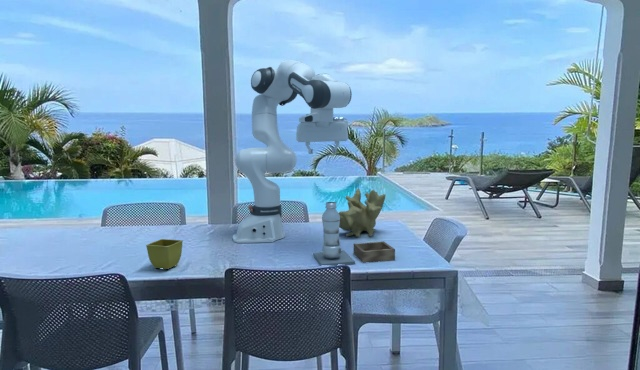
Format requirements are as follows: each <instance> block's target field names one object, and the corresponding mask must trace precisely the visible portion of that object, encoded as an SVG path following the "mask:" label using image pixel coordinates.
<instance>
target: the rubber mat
mask: <svg viewBox="0 0 640 370" xmlns="http://www.w3.org/2000/svg"><path fill="white" fill-rule="evenodd" d="M312 257H314V259H315V260H316V261H317V263H318V265H319V266H320V265H338V264H345V265H344V266H348V265H356V260H354V258H352V257H351V256H350V255H349V253H347V252H346V251H345V250H341V255H340V256H339V257H338V258H333V259H330V258H325V257H324V255H323V252H322V251H318V252H313V253H312Z"/></svg>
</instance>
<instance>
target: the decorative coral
mask: <svg viewBox="0 0 640 370" xmlns="http://www.w3.org/2000/svg"><path fill="white" fill-rule="evenodd" d="M364 196H365V198H366V200H365V201H364V203H363V202H361V199H362V193H361V190H360V188H357V189H356V190H355V193H354V195H353V196H352V197H351V196H349V195H346V196H345V200H346V201H347V205H348V209H347V210H346V211H345V210H343V211H342V210H341V211H338V213H339V215H340V225H339V229H342V230H343V231H349V232H347V233H346V237H347V238H349V237H351V236H355V237H357V238H359V237H361V233H362V232H364V231H365V232H367V233H368V236H369V238H371V237H373V235H374V234H373V233H374V232H375V231H376V228H375V227H376V223H377V221H376V220H377V218H378V217H379V215H380V213H381V211H382V210H383V206H384V204H385V203H384V202H385V201H386V193H384V194H381V195H379V194H378V192H377V191H376V190H374V189H371V190H370V191H369V192H365V194H364ZM350 231H351V232H350Z"/></svg>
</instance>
